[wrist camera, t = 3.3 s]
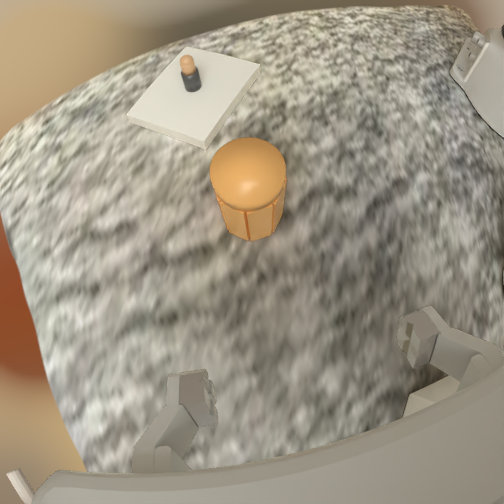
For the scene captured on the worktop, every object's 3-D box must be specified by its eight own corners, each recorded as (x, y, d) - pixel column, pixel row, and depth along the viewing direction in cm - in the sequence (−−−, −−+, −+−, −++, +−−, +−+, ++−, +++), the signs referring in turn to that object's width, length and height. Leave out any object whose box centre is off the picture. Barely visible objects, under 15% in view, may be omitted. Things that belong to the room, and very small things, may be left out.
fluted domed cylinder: (240, 179, 29) (232, 128, 22) (289, 200, 29) (297, 154, 21) (213, 225, 28) (195, 184, 21) (264, 249, 28) (265, 215, 20)
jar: (482, 410, 23) (564, 428, 11) (430, 474, 21) (498, 522, 10) (436, 358, 24) (524, 363, 13) (377, 428, 23) (444, 477, 12)
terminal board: (188, 54, 34) (179, 18, 28) (260, 73, 33) (259, 34, 27) (130, 122, 32) (110, 88, 26) (206, 150, 30) (194, 111, 24)
